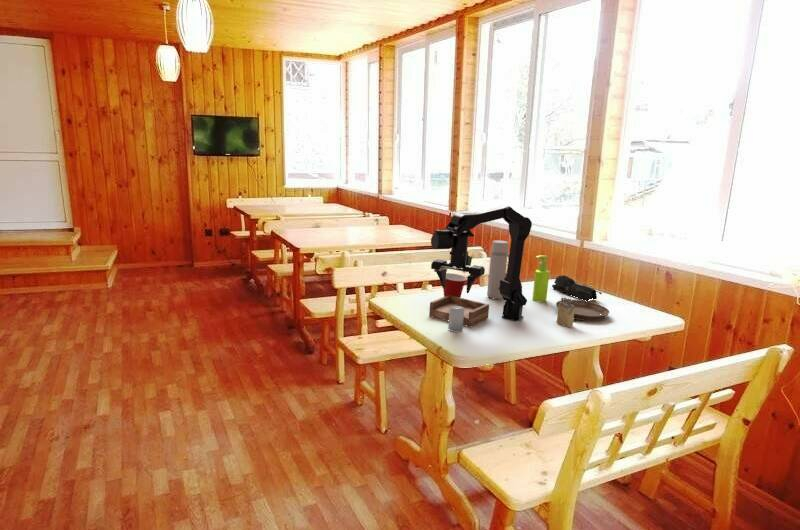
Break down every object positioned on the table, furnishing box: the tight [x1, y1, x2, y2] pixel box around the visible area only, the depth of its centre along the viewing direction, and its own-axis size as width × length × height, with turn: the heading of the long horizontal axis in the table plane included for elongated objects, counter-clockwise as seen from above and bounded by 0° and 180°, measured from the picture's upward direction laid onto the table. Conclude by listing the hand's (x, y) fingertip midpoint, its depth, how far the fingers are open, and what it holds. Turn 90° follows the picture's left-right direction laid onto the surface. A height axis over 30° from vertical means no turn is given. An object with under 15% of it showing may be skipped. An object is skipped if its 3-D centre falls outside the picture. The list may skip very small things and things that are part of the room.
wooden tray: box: [428, 295, 490, 328], centre depth 201 cm, size 18×14×6 cm
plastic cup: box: [442, 272, 468, 298], centre depth 217 cm, size 11×11×12 cm
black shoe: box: [551, 274, 602, 301], centre depth 240 cm, size 7×25×8 cm, turn 31°
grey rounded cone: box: [447, 306, 464, 332], centre depth 187 cm, size 5×5×8 cm
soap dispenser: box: [532, 254, 550, 303], centre depth 228 cm, size 6×7×20 cm
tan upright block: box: [556, 297, 575, 328], centre depth 198 cm, size 7×4×10 cm, turn 26°
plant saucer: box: [555, 299, 610, 322], centre depth 213 cm, size 21×21×3 cm
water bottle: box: [486, 239, 510, 300], centre depth 228 cm, size 9×8×25 cm
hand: (455, 290), depth 190 cm, fingers open, 9 cm apart
